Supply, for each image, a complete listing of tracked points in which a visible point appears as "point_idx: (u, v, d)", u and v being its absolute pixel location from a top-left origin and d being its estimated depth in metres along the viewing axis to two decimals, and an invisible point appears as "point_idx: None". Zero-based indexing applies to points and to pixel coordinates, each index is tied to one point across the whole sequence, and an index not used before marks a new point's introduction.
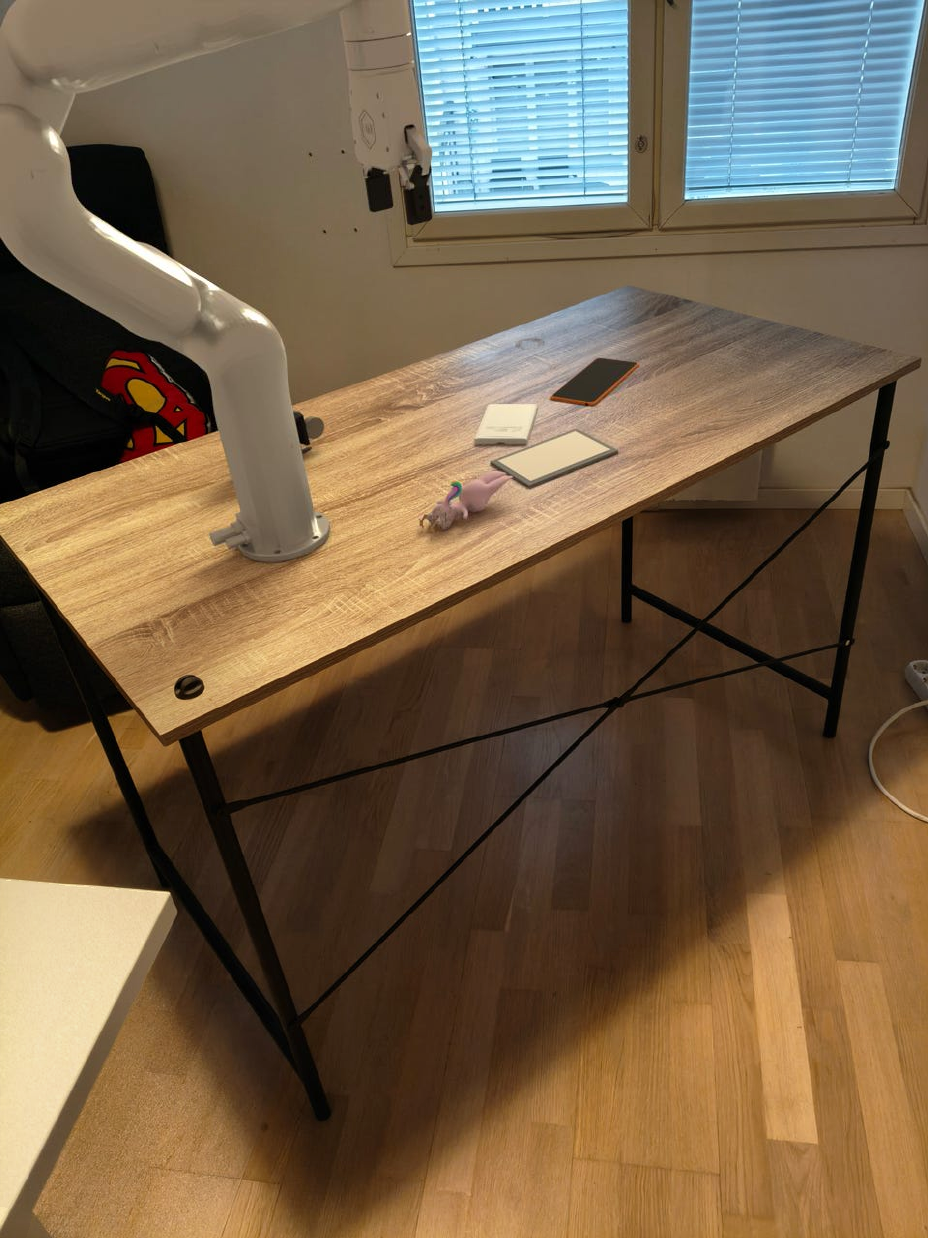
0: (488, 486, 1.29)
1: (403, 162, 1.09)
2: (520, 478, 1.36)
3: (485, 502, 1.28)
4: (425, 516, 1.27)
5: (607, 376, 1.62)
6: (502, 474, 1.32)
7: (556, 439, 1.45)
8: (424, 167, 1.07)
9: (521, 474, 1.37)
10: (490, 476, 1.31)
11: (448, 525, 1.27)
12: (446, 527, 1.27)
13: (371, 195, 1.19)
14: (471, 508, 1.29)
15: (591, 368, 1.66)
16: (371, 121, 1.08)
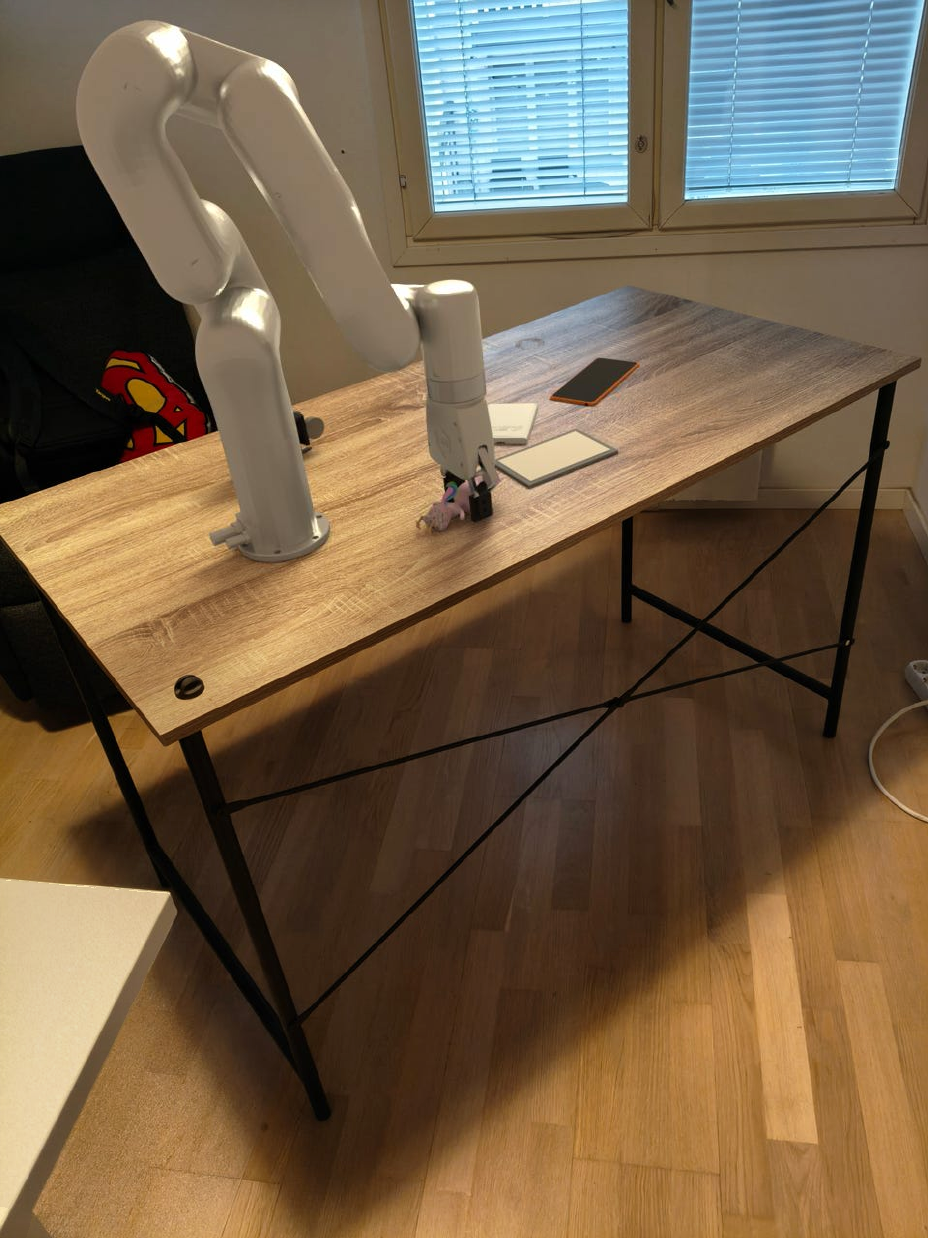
0: None
1: None
2: (520, 478, 1.36)
3: None
4: (421, 518, 1.27)
5: (607, 376, 1.62)
6: None
7: (556, 439, 1.45)
8: (489, 487, 1.22)
9: (521, 474, 1.37)
10: None
11: (445, 526, 1.26)
12: (443, 528, 1.26)
13: None
14: (467, 508, 1.29)
15: (591, 368, 1.66)
16: (447, 439, 1.21)
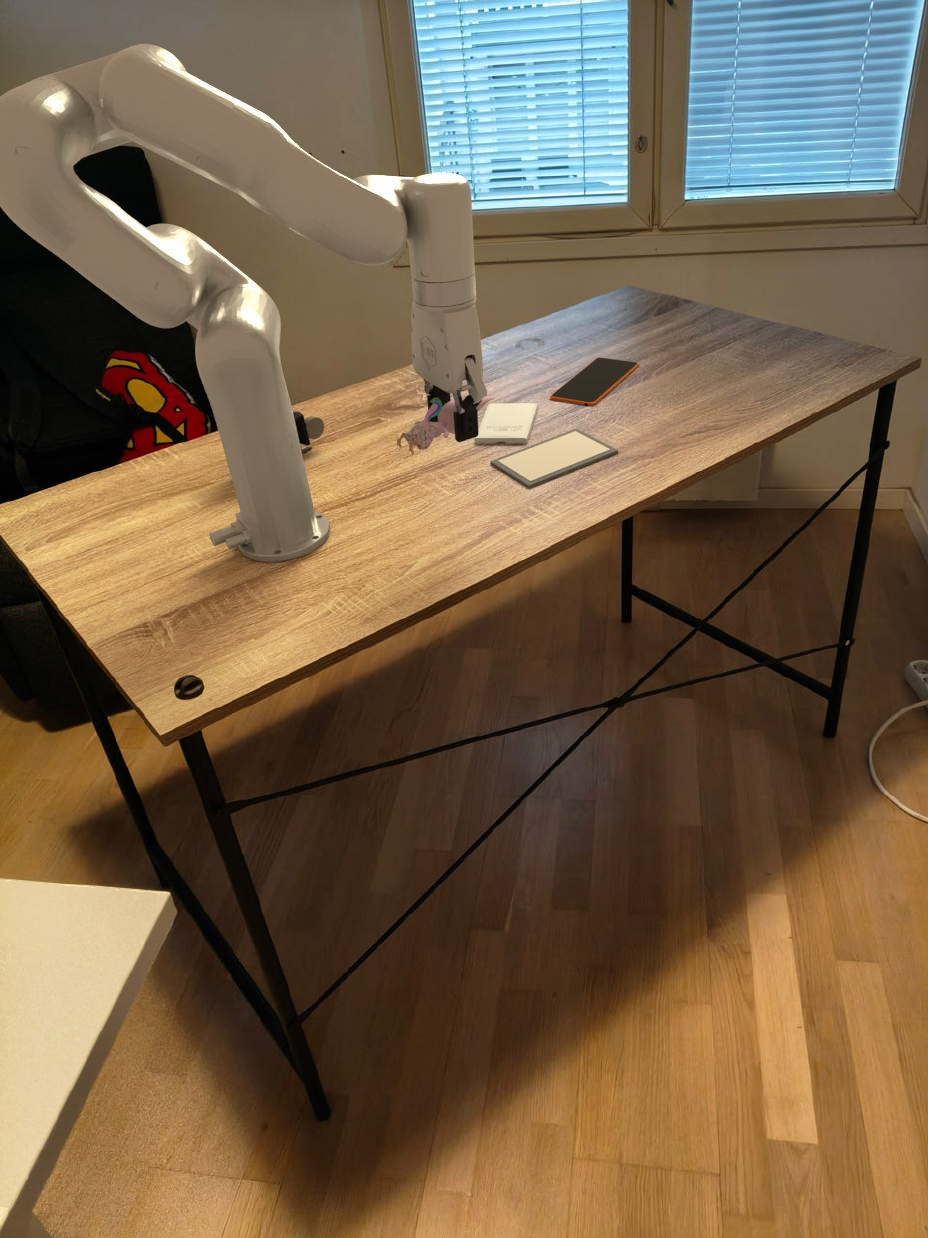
0: None
1: (458, 389, 1.16)
2: (520, 478, 1.36)
3: None
4: (403, 435, 1.20)
5: (607, 376, 1.62)
6: None
7: (556, 439, 1.45)
8: (476, 401, 1.15)
9: (521, 474, 1.37)
10: None
11: (428, 444, 1.19)
12: (426, 446, 1.19)
13: None
14: (451, 429, 1.22)
15: (591, 368, 1.66)
16: (433, 348, 1.14)
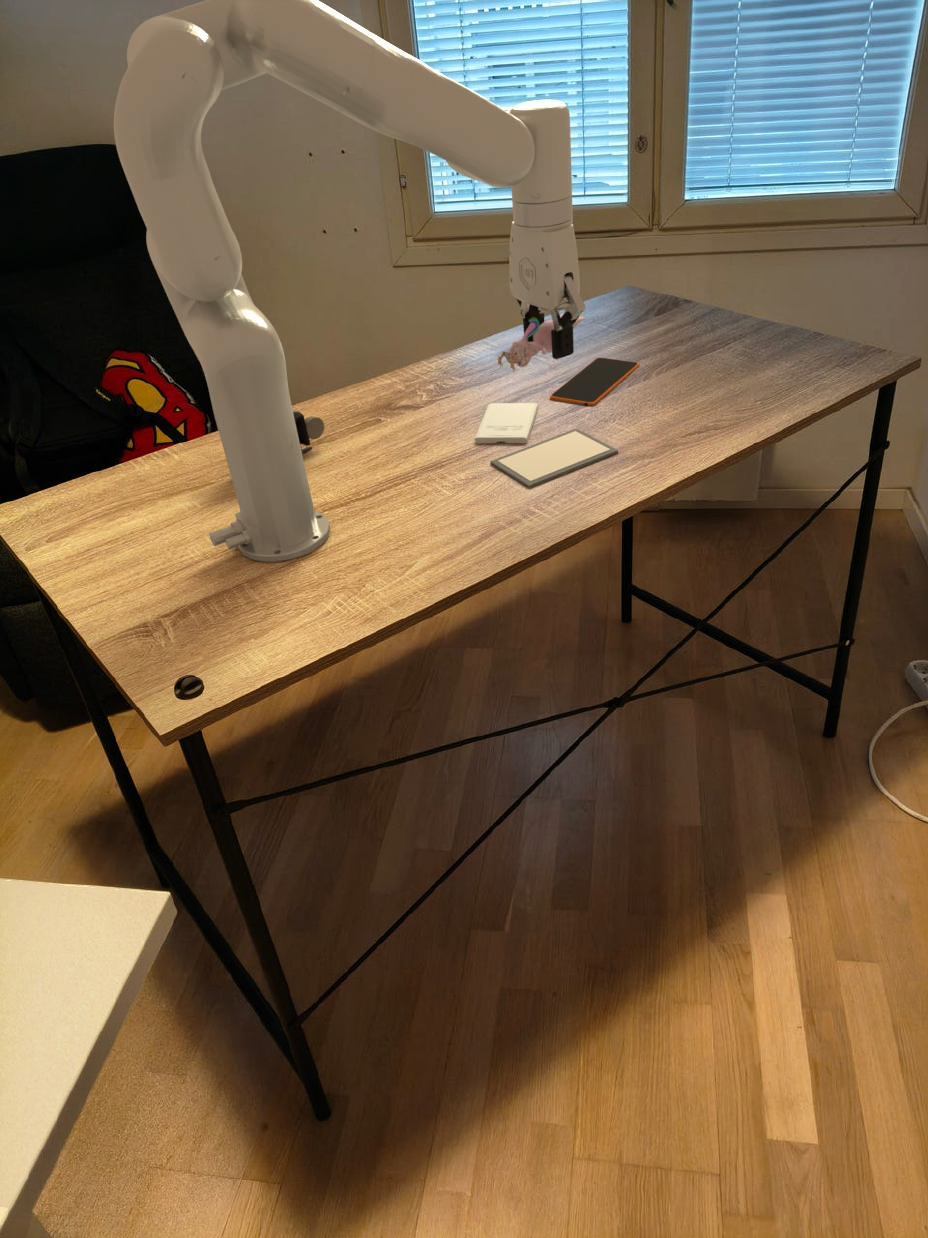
0: None
1: (556, 307, 1.24)
2: (520, 478, 1.36)
3: None
4: (503, 353, 1.28)
5: (607, 376, 1.62)
6: None
7: (556, 439, 1.45)
8: (574, 317, 1.23)
9: (521, 474, 1.37)
10: None
11: (527, 361, 1.27)
12: (525, 363, 1.27)
13: None
14: (547, 347, 1.30)
15: (591, 368, 1.66)
16: (533, 268, 1.22)
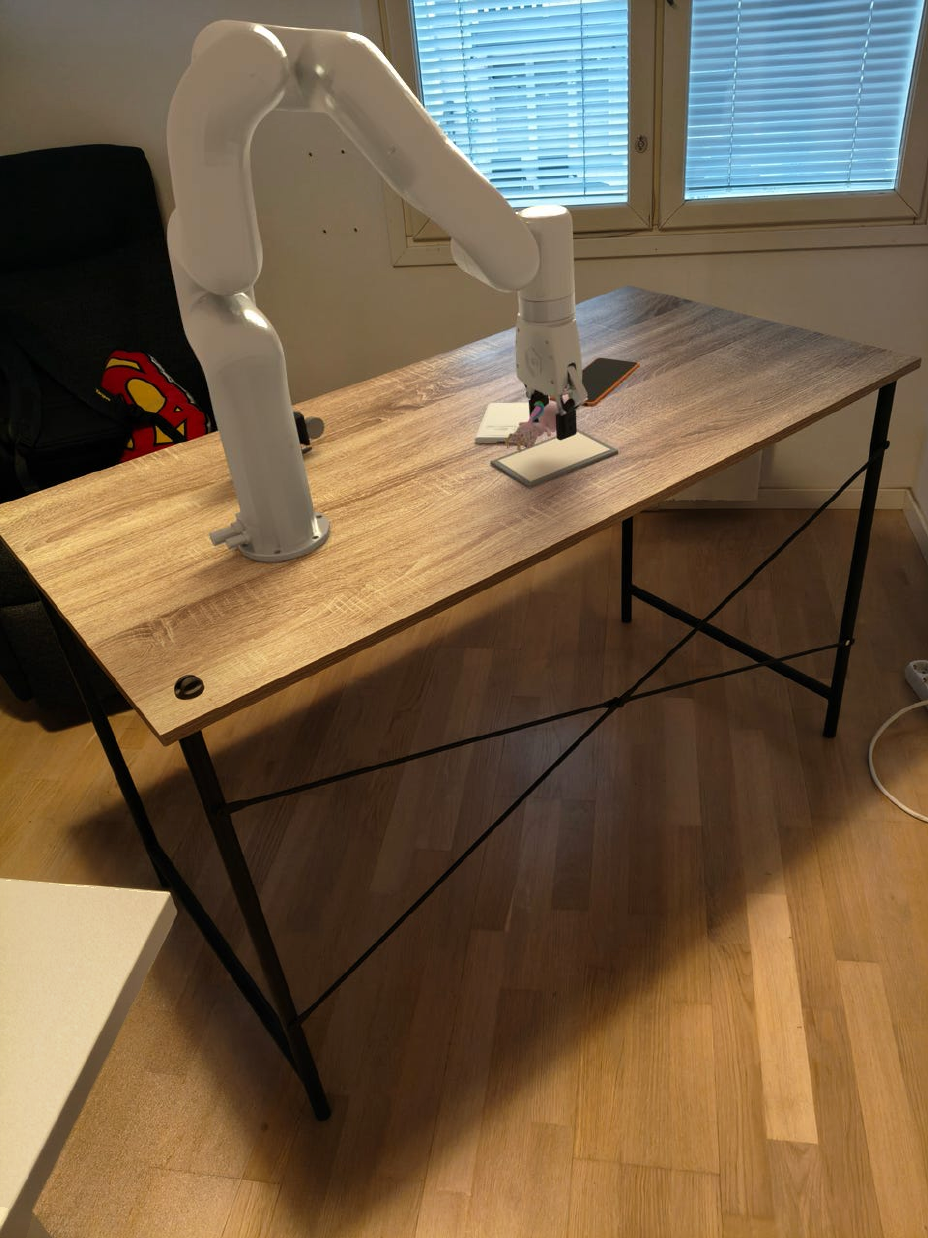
0: None
1: (560, 394, 1.31)
2: (520, 478, 1.36)
3: None
4: (510, 435, 1.35)
5: (607, 376, 1.62)
6: None
7: (556, 439, 1.45)
8: (577, 403, 1.30)
9: (521, 474, 1.37)
10: (567, 398, 1.39)
11: (533, 443, 1.34)
12: (531, 445, 1.34)
13: None
14: (552, 428, 1.37)
15: (591, 368, 1.66)
16: (538, 358, 1.29)
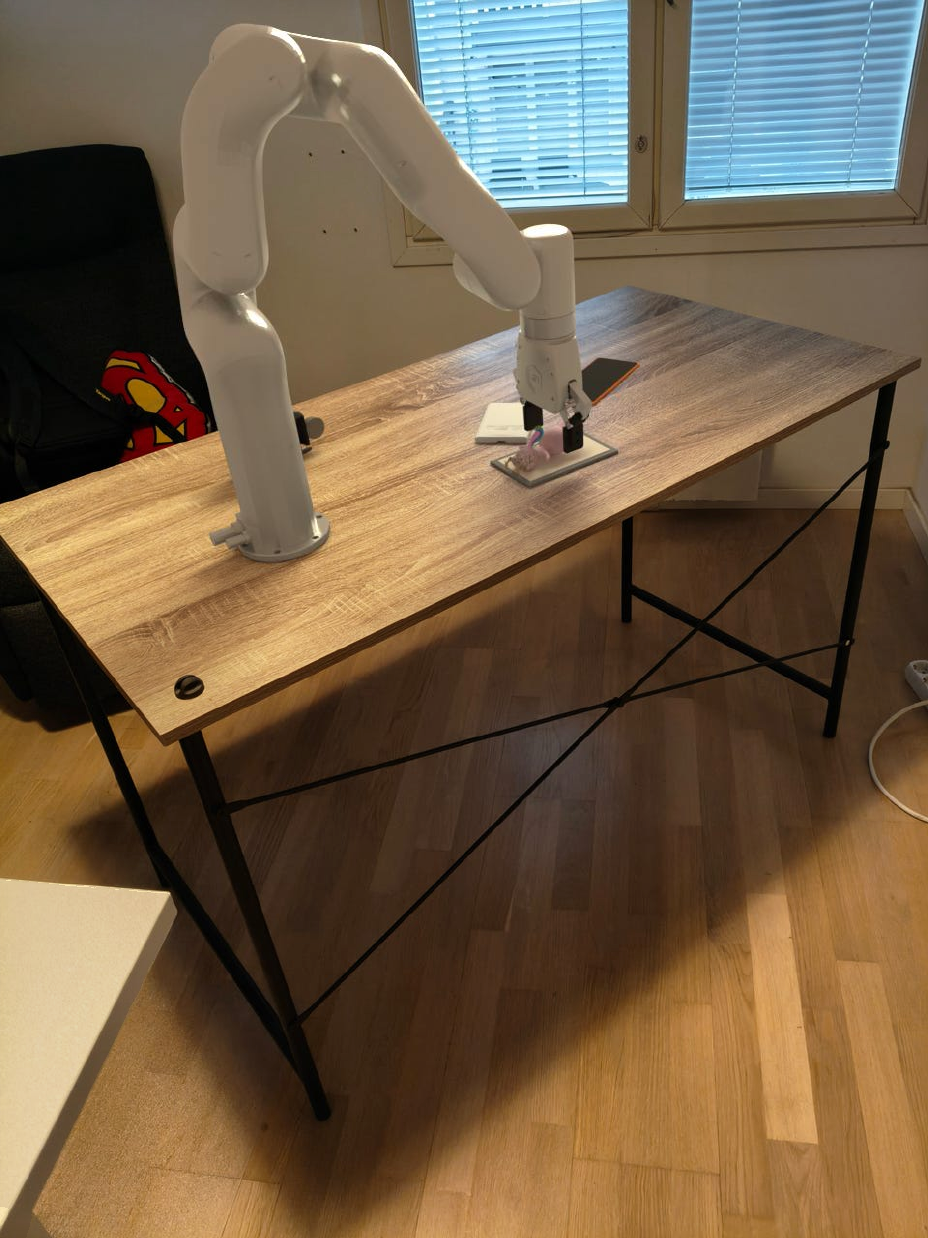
0: None
1: (564, 407, 1.31)
2: (520, 478, 1.36)
3: None
4: (510, 459, 1.37)
5: (607, 376, 1.62)
6: None
7: None
8: (584, 415, 1.30)
9: (521, 474, 1.37)
10: None
11: (532, 466, 1.36)
12: (530, 468, 1.36)
13: (527, 419, 1.41)
14: (551, 452, 1.39)
15: (591, 368, 1.66)
16: (539, 375, 1.31)
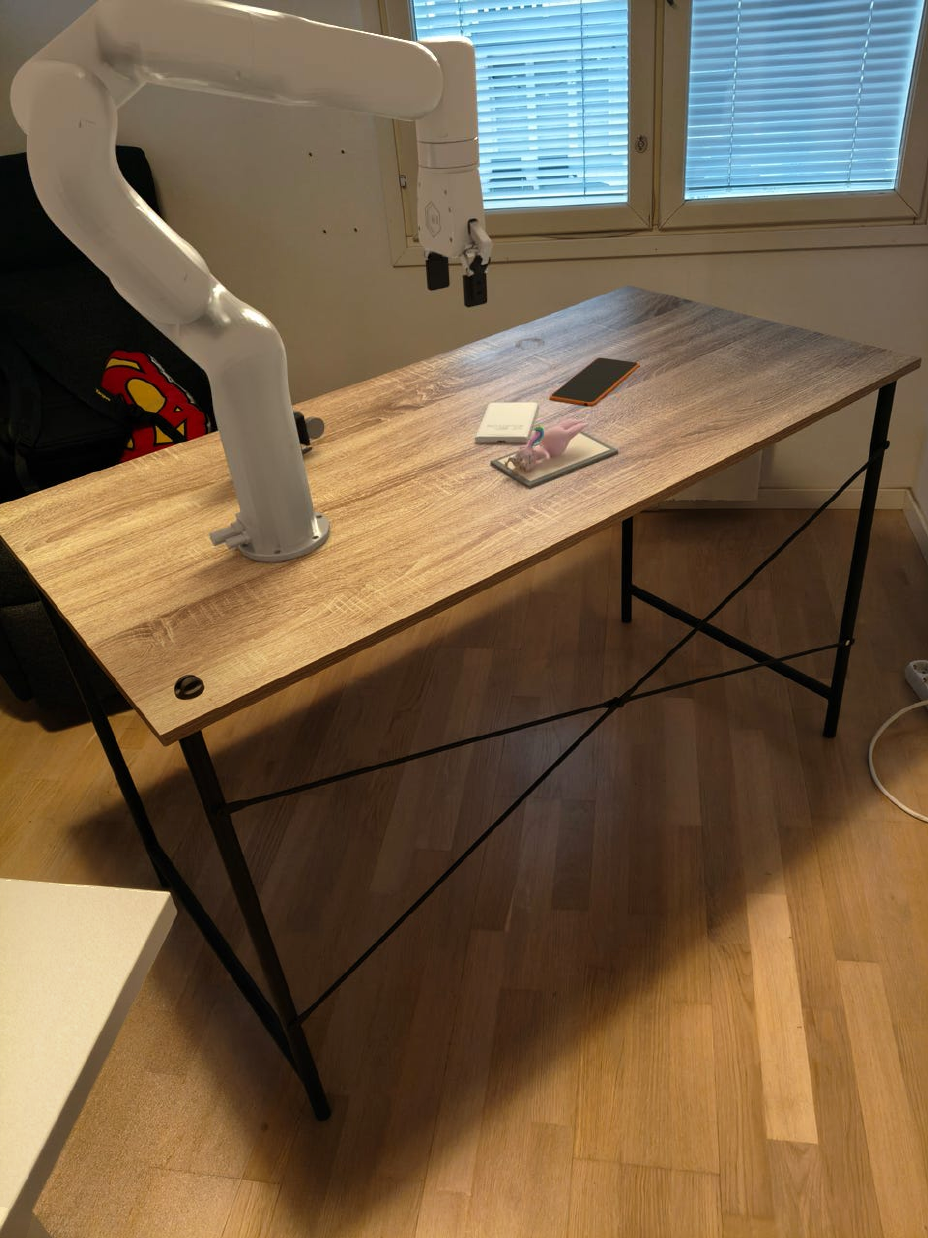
0: (567, 431, 1.39)
1: (464, 251, 1.19)
2: (520, 478, 1.36)
3: (565, 446, 1.38)
4: (510, 459, 1.37)
5: (607, 376, 1.62)
6: (578, 421, 1.42)
7: None
8: (484, 258, 1.17)
9: (521, 474, 1.37)
10: (568, 423, 1.41)
11: (531, 467, 1.36)
12: (530, 469, 1.36)
13: (430, 275, 1.28)
14: (552, 452, 1.39)
15: (591, 368, 1.66)
16: (437, 213, 1.18)
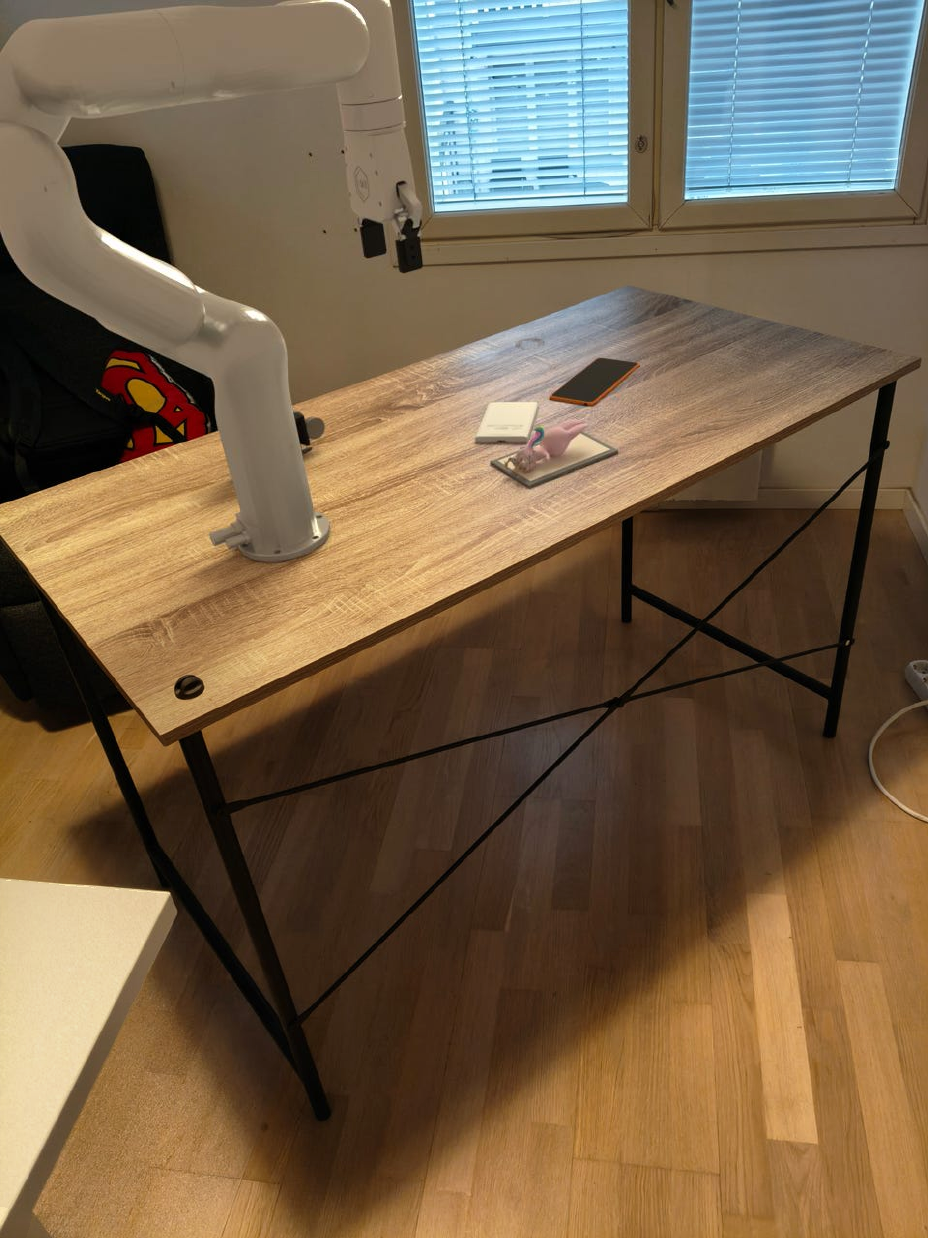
0: (568, 432, 1.39)
1: (395, 215, 1.16)
2: (520, 478, 1.36)
3: (565, 447, 1.38)
4: (510, 459, 1.37)
5: (607, 376, 1.62)
6: (579, 422, 1.42)
7: None
8: (415, 221, 1.14)
9: (521, 474, 1.37)
10: (569, 424, 1.41)
11: (531, 467, 1.36)
12: (529, 469, 1.36)
13: (365, 243, 1.25)
14: (552, 453, 1.39)
15: (591, 368, 1.66)
16: (365, 177, 1.15)
